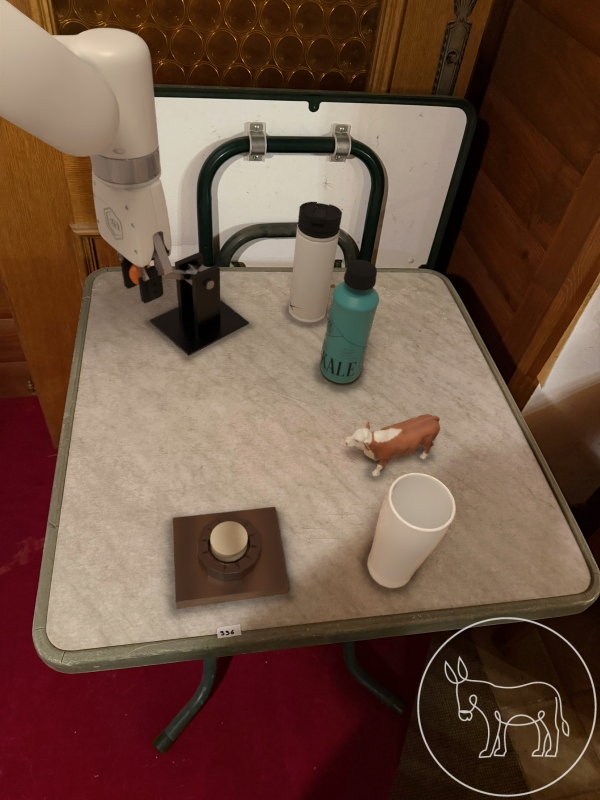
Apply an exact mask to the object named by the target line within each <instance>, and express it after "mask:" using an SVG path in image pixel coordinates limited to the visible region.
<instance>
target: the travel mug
mask: <svg viewBox="0 0 600 800" xmlns="http://www.w3.org/2000/svg"><path fill="white" fill-rule="evenodd" d="M342 217H343V212H342V210H341V209H340V208H339V207H338V206H336V205H334V204H331V203H329V204H326V203H322V202H318V201H307V202H304V203H302V204H300V206H299V210H298V219H297V225H296V234H295V244H294V254H293V263H292V273H291V281H290V282H291V283H290V292H289V300H288V309H287V310H288V314H289V316H290V317H291V318H292V319H293V320H294V321H297V322H298V323H301V324H307V325H312V324H313V325H314V324H317V323H320V322H321V321H322V320H324V319H325V317H326V314H327V308H328V302H329V296H330V290H331V284H332V280H333V279H332V278H333V273H334V267H335V260H336V255H337V249H338V244H339V243H338V242H339V237H340V229H341V223H342Z"/></svg>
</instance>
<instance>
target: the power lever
mask: <svg viewBox="0 0 600 800" xmlns="http://www.w3.org/2000/svg"><path fill="white" fill-rule="evenodd" d="M151 266H152V265H151V264H149V265H147V269H148V268H149V267H151ZM208 268H209V267H207V266H205V265H204V264H203V265H197V264H188V267H187V270H175V269H173V272H171V273H169V274H167V275H164V276H162V280H172V281H173V280H175V281H176V280H186V281H187V282H188V283H190V284H191V285H192V275H194V274H197V273H199V272H201V271H203V270H206V269H208ZM129 276H130V278H131V280H132V281H133V282H134V283H135V284H136V285H137V286H139V281H138V278H139V277H141V275H140V270H139V267H138V266H136V265H134V264H133V265H132V266H131V268H130V270H129Z"/></svg>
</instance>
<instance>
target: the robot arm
mask: <svg viewBox="0 0 600 800" xmlns="http://www.w3.org/2000/svg"><path fill="white" fill-rule="evenodd" d="M154 90H155V89H154V78H153V65H152V58H151V52H150V49H149V47H148V44H147V43H146V41H145V40H144V39H143V37H141V36H140V35H138V34H136V33H135V32H132V31H130V30H125V29H121V28H114V27H98V28H91V29H88V30H84V31H82V32H80V33H78V34H69V35H67V34H65V35H64V34H63V35H60V34H59V35H57V34H56V35H55V34H50V33H49V32H48V31H47V30H46V29H44V28H43V27H41V26H40V25H39V24H38V23H37V22H35V21H34V20H32V19H31V18H30V17H29V16H27V15H26V14H25V13H23V12H22V11H20V10H19V9H18V8H17V7H15V6H14V5H13V4H12V3H10V1H7V0H0V117H1V118H3V119H4V120H6V121H8V122H10V123H11V124H13V125H15V126H17V127H18V128H20V129H21V130H22V131H25V132H27V133H28V134H30V135H32V136H33V137H35V138H37V139H38V140H40V141H42V142H43V143H45V144H47V145H49V146H50V147H52V148H54V149H56V150H57V151H59V152H61V153H62V154H64V155H68V156H72V157H84V158H85V157H89V158H90V162H91V181H92V193H93V194H92V195H93V196H92V197H93V202H94V212H95V217H96V224H97V227H98V228H97V229H98V232H99V235H100V236H101V237H102V239H103V240H104V241H105V242H106V243H107V244H108V245H110V246H111V247H112V248H113V249H114V250H115V251H116V254H117V258H118V260H119V261H120V268H121V274H122V280H123V286H124V287H125V288H126V289H127V290H128V289H132V288H135V287H137V286H138V288H139V295H140V300H141V303H143V304H148V303H150V302H152V301H154V300H157V299H159V298H161V297H163V295H164V285H163V279H162V276H164V275H167V274H169V273H171V272H173V270H174V269H173V265H172V264H171V260H170V258H169V257H170V256H171V253H172V233H171V225H170V219H169V211H168V207H167V201H166V197H165V191H164V187H163V183H162V180H161V176H162V166H161V154H160V144H159V131H158V121H157V112H156V101H155V100H156V99H155V91H154ZM152 261H153V265H151V262H152ZM133 264H134V265H136V266H138V267H139V270H140V275H141V277H139V278H138V281H139V285H136V284H135V283H134V282H133V281H132V280H131V278H130V276H129V270H130V268H131V266H132V265H133ZM147 265H150V266H151V267H149V268H148V269H147Z"/></svg>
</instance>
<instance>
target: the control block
mask: <svg viewBox="0 0 600 800" xmlns="http://www.w3.org/2000/svg"><path fill="white" fill-rule="evenodd" d="M277 513H278V512H277V508H276V506H270V507H260V508H249V509H241V510H233V511H222V512H213V513H204V514H195V515H185V516H176V517H172V537H173V540H172V541H173V565H174V567H173V569H174V591H175V592H174V594H175V595H174V596H175V605H176V609H177V610H178V609H185V608H186V609H187V608H193V607H201V606H208V605H215V604H221V603H222V604H223V603H230V602H237V601H244V600H251V599H258V598H259V599H260V598H265V597H266V598H267V597H273V596H281V595H288V594H289V590H290V583H289V577H288V572H287V567H286V561H285V560H286V559H285V555H284V549H283V543H282V538H281V532H280V526H279V525H280V524H279V520H278V515H277ZM227 521H233V522H237V523H239V524H240V525H242V526H243V527H244V528H245V530H246V532H247V535H248V543H247V550H246V552H245V554H244V555H243V556H242V557H241V558H240V559H238V560H236V561H232V562H224V561H221V560H219V559H217V558H216V557H215V556H214V555H213V553H212V551H211V544H210V537H211V533H212V531H213V529H214V528H215V527H216V526H217V525H219V524H220V523H223V522H227Z"/></svg>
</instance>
